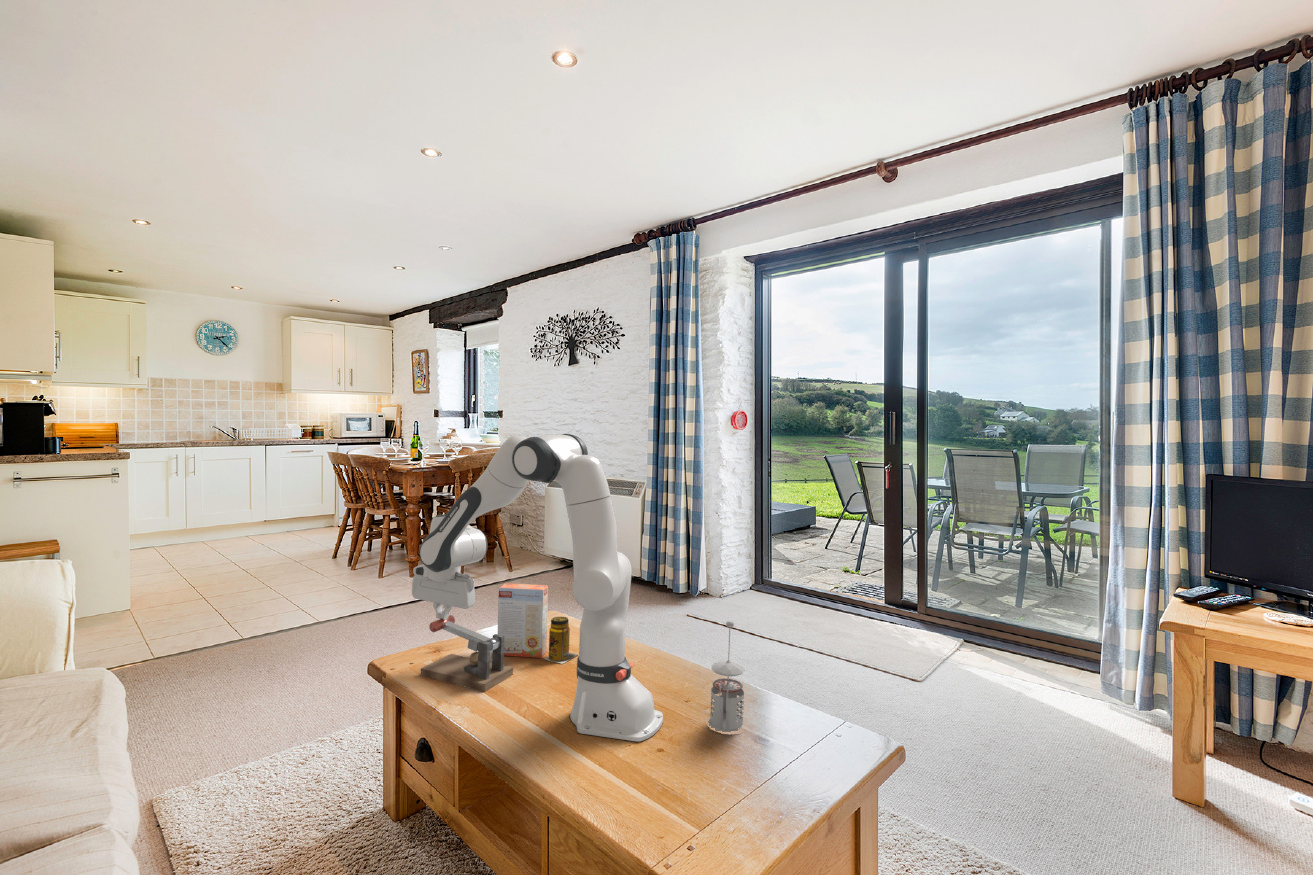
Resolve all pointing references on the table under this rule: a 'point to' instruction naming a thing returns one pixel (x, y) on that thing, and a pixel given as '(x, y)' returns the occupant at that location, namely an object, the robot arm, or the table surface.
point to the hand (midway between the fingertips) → (442, 618)
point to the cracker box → (523, 619)
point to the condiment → (559, 641)
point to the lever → (464, 633)
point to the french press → (727, 695)
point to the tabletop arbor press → (472, 668)
